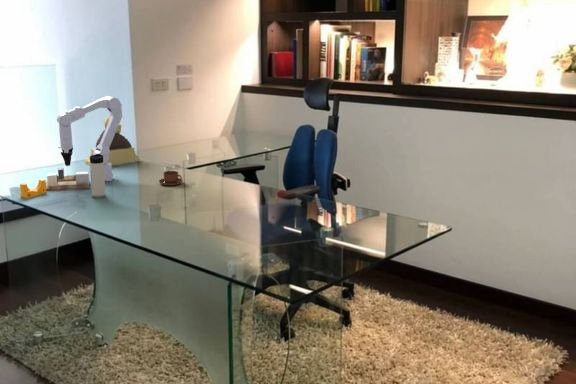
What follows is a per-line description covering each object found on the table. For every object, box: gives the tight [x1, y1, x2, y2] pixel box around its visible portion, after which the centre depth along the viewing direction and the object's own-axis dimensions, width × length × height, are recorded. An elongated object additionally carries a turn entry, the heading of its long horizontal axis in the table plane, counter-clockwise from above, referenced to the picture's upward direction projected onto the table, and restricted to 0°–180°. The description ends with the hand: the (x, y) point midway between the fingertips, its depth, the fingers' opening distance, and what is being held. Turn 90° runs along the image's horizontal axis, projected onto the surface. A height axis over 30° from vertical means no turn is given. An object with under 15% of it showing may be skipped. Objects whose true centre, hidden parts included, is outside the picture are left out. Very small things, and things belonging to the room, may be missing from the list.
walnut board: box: [46, 181, 90, 192], centre depth 324 cm, size 21×14×1 cm, turn 105°
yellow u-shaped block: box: [19, 178, 48, 199], centre depth 307 cm, size 12×4×6 cm, turn 145°
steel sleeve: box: [75, 171, 90, 186], centre depth 325 cm, size 6×5×6 cm
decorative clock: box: [84, 114, 141, 167], centre depth 373 cm, size 28×13×30 cm, turn 130°
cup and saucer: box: [158, 170, 184, 186], centre depth 332 cm, size 12×12×6 cm
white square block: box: [46, 172, 58, 186], centre depth 321 cm, size 4×5×6 cm
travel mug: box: [89, 154, 107, 199], centre depth 305 cm, size 6×7×20 cm
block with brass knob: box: [57, 167, 76, 182], centre depth 322 cm, size 14×3×7 cm, turn 105°
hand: (68, 164), depth 326 cm, fingers open, 7 cm apart
